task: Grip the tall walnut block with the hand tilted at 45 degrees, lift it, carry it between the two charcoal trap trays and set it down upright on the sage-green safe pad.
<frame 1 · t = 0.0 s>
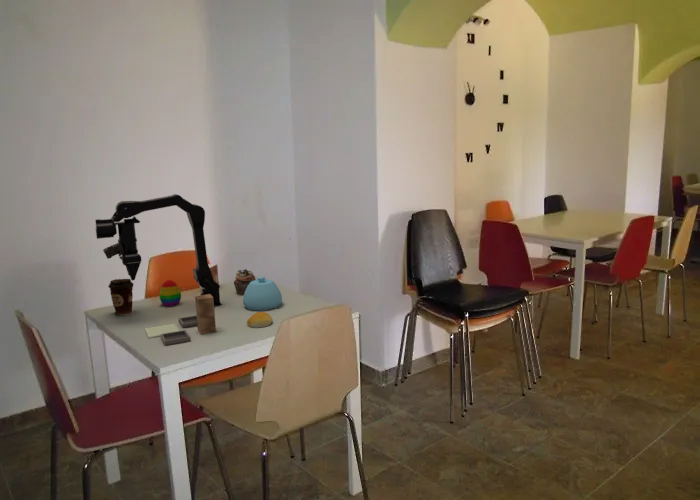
hand: (131, 277, 208), 15 cm above the table, tool pointing down, fingers open, 9 cm apart
small box: (209, 289, 247), on the table
bread roll: (259, 324, 197), on the table
safe pad: (162, 331, 191), on the table
coffee cup: (123, 313, 214), on the table
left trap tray: (175, 339, 183), on the table
sugar bowl: (263, 306, 219), on the table
decorative egg: (171, 304, 224), on the table
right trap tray: (192, 323, 199), on the table
walnut block: (206, 331, 191), on the table
cupcake: (246, 293, 239), on the table
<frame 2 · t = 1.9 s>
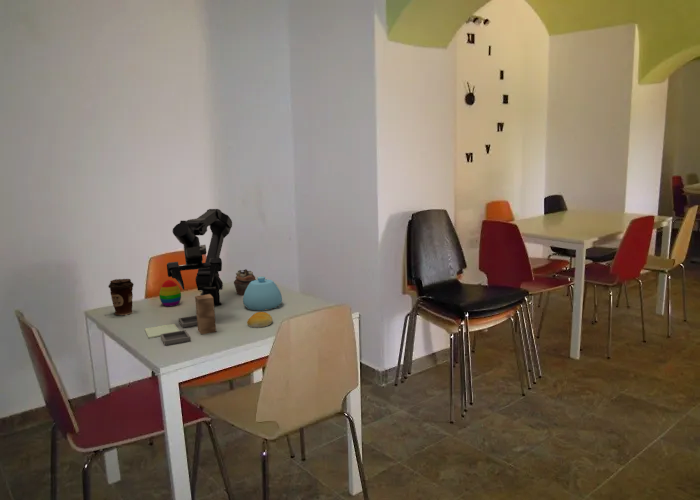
hand: (197, 287, 195), 13 cm above the table, tool tilted 45°, fingers open, 9 cm apart
nothing on the table moved.
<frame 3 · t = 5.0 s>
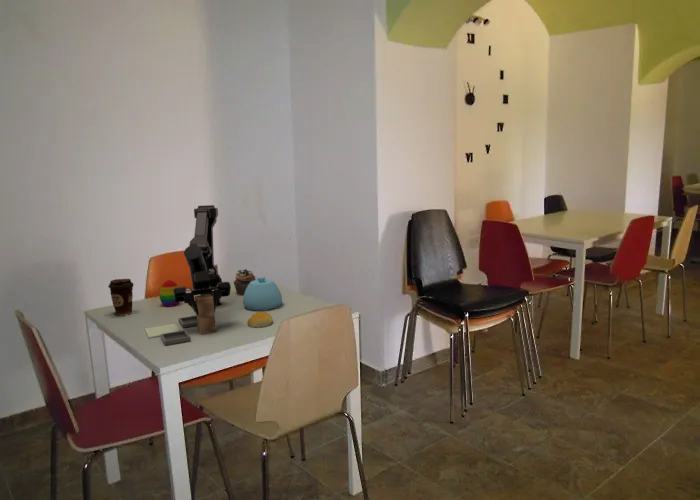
hand: (206, 313, 188), 7 cm above the table, tool tilted 45°, fingers closed on walnut block, 5 cm apart
walnut block: (206, 330, 191), on the table, touching gripper
everything else where it was.
when the fingers open (8 cm above the table, at t = 10.2 s): walnut block stays where it is, resting on safe pad.
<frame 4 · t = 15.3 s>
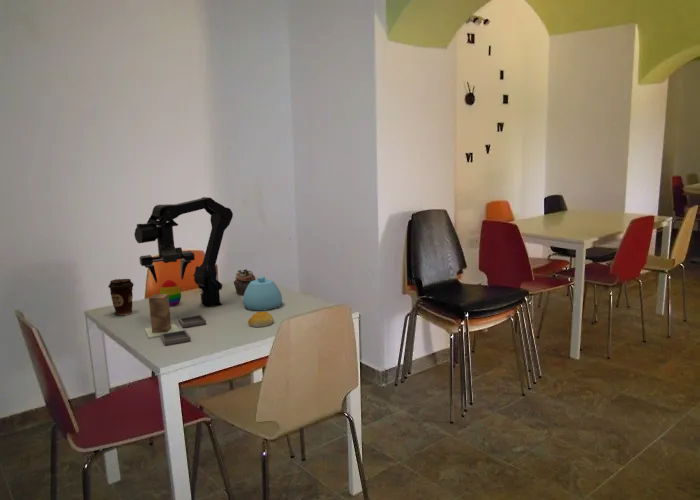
hand: (169, 280, 208), 13 cm above the table, tool pointing down, fingers open, 9 cm apart
walnut block: (161, 330, 191), resting on safe pad
everything else where it was.
at the end: walnut block 0.0 cm off-centre on the safe pad, point 0.5 cm above the safe pad's base; walnut block tilted 0°; the gripper is holding nothing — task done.
